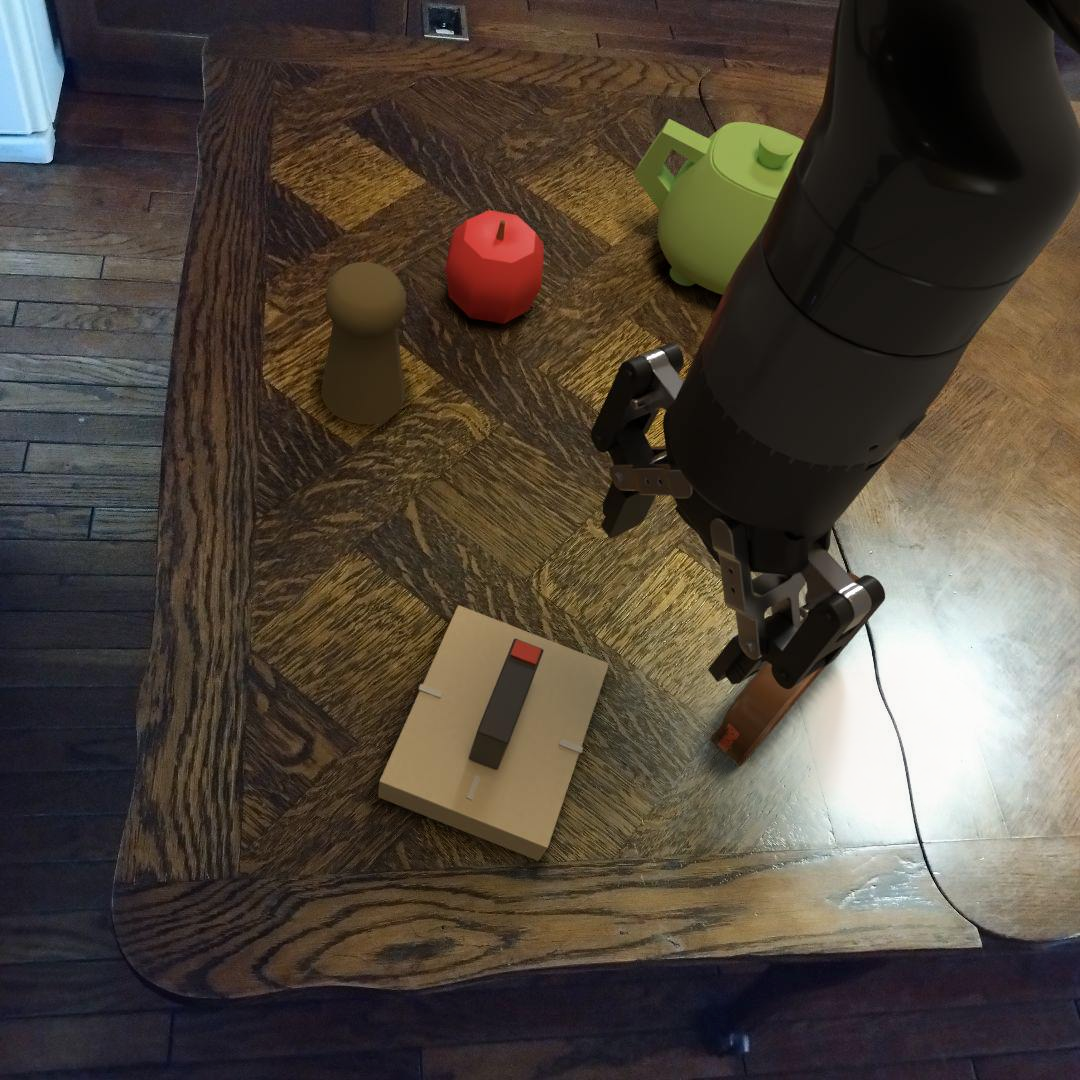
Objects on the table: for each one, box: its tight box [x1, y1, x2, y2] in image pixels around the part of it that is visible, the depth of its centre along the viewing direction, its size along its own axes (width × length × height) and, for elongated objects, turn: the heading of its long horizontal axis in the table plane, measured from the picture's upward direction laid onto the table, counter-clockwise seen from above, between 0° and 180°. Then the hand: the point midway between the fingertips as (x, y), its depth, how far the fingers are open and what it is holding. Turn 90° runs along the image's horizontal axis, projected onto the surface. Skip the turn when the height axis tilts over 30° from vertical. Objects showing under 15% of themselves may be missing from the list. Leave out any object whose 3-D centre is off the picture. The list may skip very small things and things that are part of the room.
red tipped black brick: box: [469, 638, 544, 770], centre depth 55 cm, size 6×2×5 cm, turn 161°
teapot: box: [633, 118, 804, 296], centre depth 80 cm, size 20×13×13 cm
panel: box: [377, 604, 610, 861], centre depth 59 cm, size 12×10×3 cm
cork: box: [320, 261, 407, 425], centre depth 67 cm, size 6×6×11 cm
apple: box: [444, 209, 545, 324], centre depth 75 cm, size 8×8×8 cm
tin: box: [710, 572, 860, 768], centre depth 61 cm, size 15×3×8 cm, turn 137°
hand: (672, 595), depth 47 cm, fingers open, 8 cm apart
